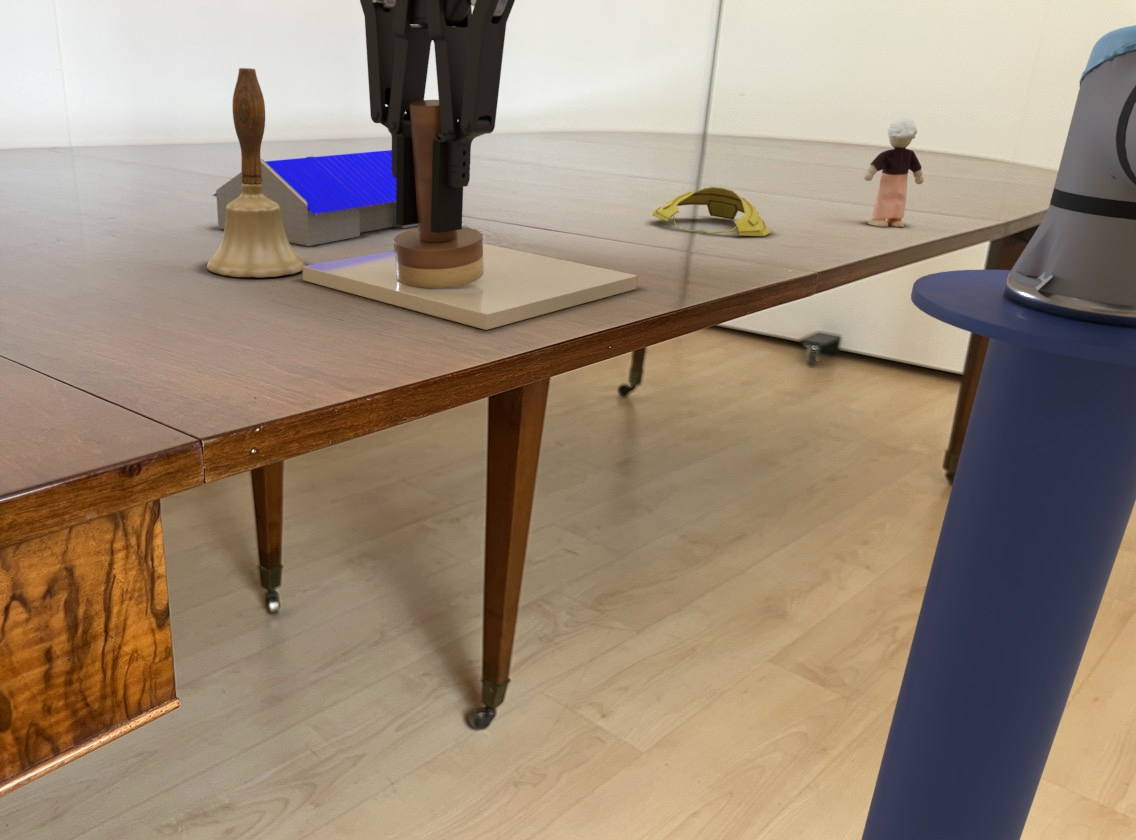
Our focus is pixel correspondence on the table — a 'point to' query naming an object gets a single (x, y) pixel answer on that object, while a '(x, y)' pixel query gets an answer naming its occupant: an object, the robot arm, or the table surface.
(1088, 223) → the robot arm
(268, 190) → the model house
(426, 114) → the dish brush
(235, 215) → the hand bell
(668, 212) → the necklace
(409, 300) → the tile
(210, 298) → the table surface
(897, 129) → the grandmother figurine
